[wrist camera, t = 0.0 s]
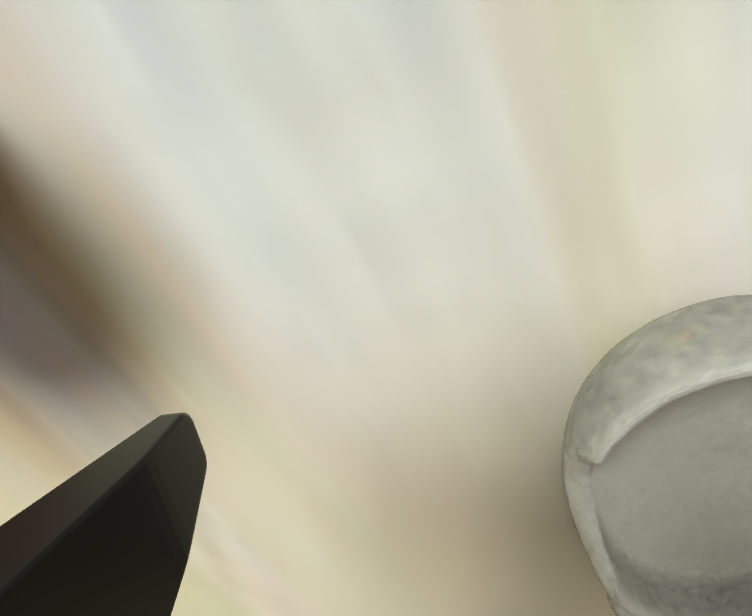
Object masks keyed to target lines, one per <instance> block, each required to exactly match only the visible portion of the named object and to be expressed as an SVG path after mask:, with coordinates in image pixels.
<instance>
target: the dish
mask: <svg viewBox="0 0 752 616" xmlns="http://www.w3.org/2000/svg"><path fill="white" fill-rule="evenodd" d="M562 467H563V479H564V486H565V490H566V495H567V500H568V504H569V507H570V511H571V514H572V517H573V519H574V522H575V525H576V528H577V531H578V533H579V536H580V538H581V541H582V543H583V545H584V547H585V550H586V552H587V554H588V556H589V559H590V561H591V563H592V565H593V568H594V570H595V572H596V574H597V576H598V578H599V580H600V581H601V583H602V585H603V586H604V588H605V589H606V591H607V597H608V600H609V602H610V605H611V607H612V609H613V610H614V612H615V613H616V615H617V616H752V295H734V296H728V297H723V298H717V299H713V300H709V301H705V302H700V303H697V304H694V305H690V306H687V307H685V308H682V309H680V310H677V311H674V312H672V313H669V314H667V315H664V316H662V317H660V318H658V319H656V320H654V321H652V322H650V323H648V324H647V325H645V326H644V327H642V328H640V329H639V330H637V331H635V332H634V333H632V334H631V335H629V336H628V337H626V338H625V339H623V340H622V341H621V342H620V343H618V344H617V345H616V346H615V347H614V348H613V349H611V350H610V351H609V352H608V353H607V354H606V355H605V356H604V357H603V358H602V359H601V361H600V362H599V363H598V364H597V366H596V367H595V368H594V369H593V371H592V372H591V373H590V374H589V376H588V377H587V379H586V380H585V382H584V383H583V385H582V387H581V388H580V390H579V392H578V394H577V396H576V398H575V400H574V403H573V405H572V408H571V411H570V413H569V417H568V421H567V425H566V430H565V435H564V443H563V457H562Z"/></svg>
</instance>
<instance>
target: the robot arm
mask: <svg viewBox="0 0 752 616" xmlns="http://www.w3.org/2000/svg"><path fill="white" fill-rule="evenodd" d="M206 468H207V461H206V455H205V452H204V449H203V446H202V444H201V441H200V438H199V436H198V433H197V430H196V428H195V425H194V422H193V420H192V418H191V417H190V416H189V415H188V414H186V413H175V414H166V415H161V416H159V417H157V418H156V419H155V420H153V421H152V422H150V423H149V424H147V425H146V426H144V427H143V428H142V429H140V430H139V431H137V432H136V433H134V434H133V435H131V436H130V437H129V438H127V439H126V440H124V441H123V442H121V443H120V444H118V445H117V446H115V447H114V448H113V449H111V450H110V451H108V452H107V453H105V454H104V455H102V456H101V457H100V458H98V459H97V460H95V461H94V462H92V463H91V464H89V465H88V466H87V467H85V468H84V469H82V470H81V471H79V472H78V473H76V474H75V475H74V476H72V477H71V478H69V479H68V480H66V481H65V482H63V483H62V484H61V485H59V486H58V487H56V488H55V489H53V490H52V491H50V492H49V493H47V494H46V495H45V496H43V497H42V498H40V499H39V500H37V501H36V502H34V503H33V504H32V505H30V506H29V507H27V508H26V509H24V510H23V511H21V512H20V513H19V514H17V515H16V516H14V517H13V518H11V519H10V520H8V521H7V522H6V523H4V524H3V525H1V526H0V616H171V613H172V610H173V606H174V603H175V600H176V597H177V594H178V591H179V588H180V584H181V581H182V578H183V575H184V572H185V568H186V565H187V561H188V557H189V553H190V549H191V544H192V539H193V534H194V529H195V524H196V519H197V514H198V509H199V504H200V499H201V494H202V489H203V484H204V479H205V474H206Z"/></svg>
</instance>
